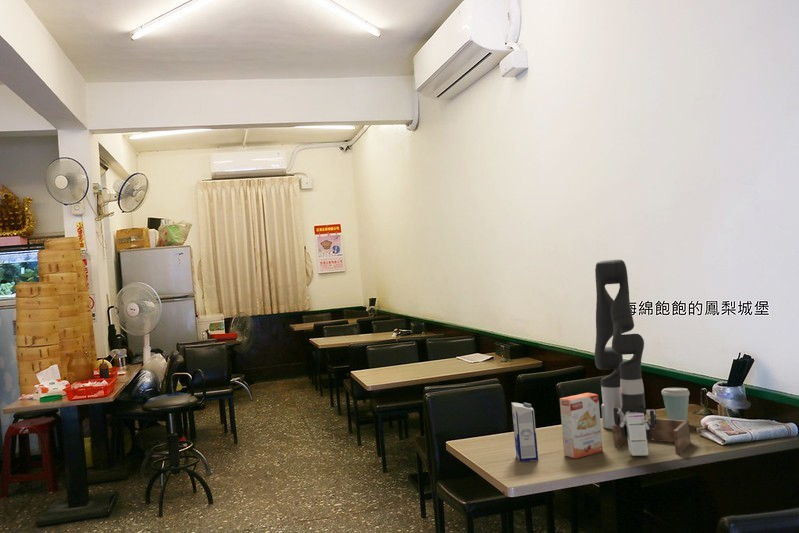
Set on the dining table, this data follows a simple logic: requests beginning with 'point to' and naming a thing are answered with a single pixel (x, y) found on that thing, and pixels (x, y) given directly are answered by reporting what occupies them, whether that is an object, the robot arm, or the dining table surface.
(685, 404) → the disposable coffee cup
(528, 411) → the milk carton
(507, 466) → the dining table surface
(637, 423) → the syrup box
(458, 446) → the dining table surface
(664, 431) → the wooden u-shaped bracket
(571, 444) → the cracker box
